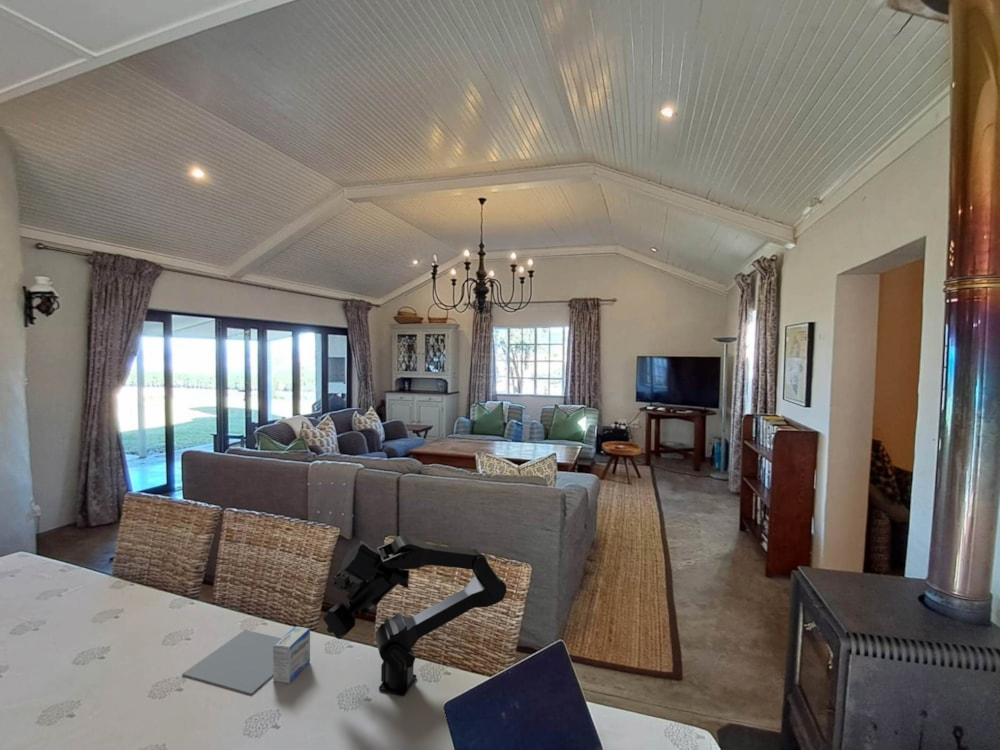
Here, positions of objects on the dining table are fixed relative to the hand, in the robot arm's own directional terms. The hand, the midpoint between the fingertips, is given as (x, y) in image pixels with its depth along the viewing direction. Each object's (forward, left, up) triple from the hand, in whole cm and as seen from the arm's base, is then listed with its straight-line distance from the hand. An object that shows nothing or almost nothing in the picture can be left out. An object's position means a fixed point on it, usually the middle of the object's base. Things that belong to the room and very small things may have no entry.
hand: (336, 623), depth 106 cm
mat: (+24, +2, -13) cm, 27 cm away
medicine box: (+11, +2, -13) cm, 17 cm away
